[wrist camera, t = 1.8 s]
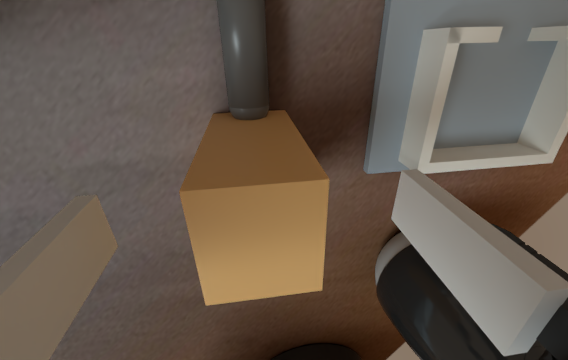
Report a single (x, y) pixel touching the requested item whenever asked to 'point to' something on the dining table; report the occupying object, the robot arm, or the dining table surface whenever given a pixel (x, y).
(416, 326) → the dark grey egg shape
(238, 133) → the plug
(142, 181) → the dining table surface
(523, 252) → the robot arm
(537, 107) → the board
